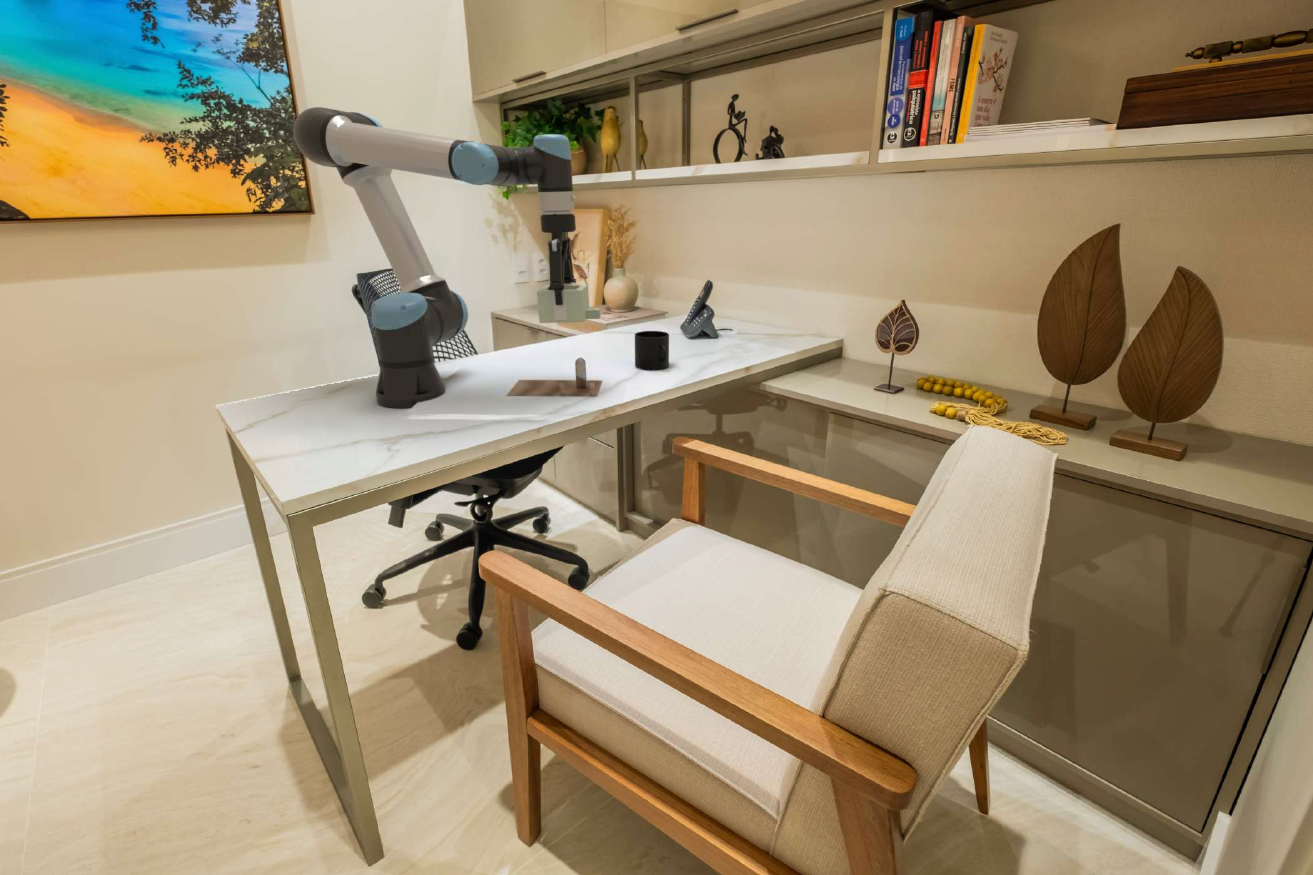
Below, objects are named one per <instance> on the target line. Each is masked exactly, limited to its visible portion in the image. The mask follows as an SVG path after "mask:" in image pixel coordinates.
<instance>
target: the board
mask: <svg viewBox="0 0 1313 875" xmlns="http://www.w3.org/2000/svg"><path fill="white" fill-rule="evenodd" d="M586 383H587V388H585V389H578V388H576V379H518V380H517V382H516V383H515V384H514V385H513V387H512V388H511V389H510V391H509V392H508V393H507V394H506V395H505V396H507V397H570V398H572V397H576V398H578V397H579V398H581V397H582V398H583V397H584V398H585V397H587V398H588V397H589V398H590V397H591V398H595V397H596V398H597V397H598V394H599V392H600V388H601V386H602V383H603V379H602V380H600V379H599V380H597V379H596V380H594V379H590V380H588V379H586Z"/></svg>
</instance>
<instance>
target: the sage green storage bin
mask: <svg viewBox="0 0 1313 875" xmlns="http://www.w3.org/2000/svg"><path fill="white" fill-rule="evenodd" d="M548 286H550V284H547V285H544V286H542V287H541V288H539V289H538V290H537V291H536V297H537V298H536V299H537V308H538V318H539V324H550V323H552V324H553V323H554V324H556V323H558V324H559V323H564V324H565V323H566V324H567V323H584V322H586V320H600V318H601V309H600V307H599V308H597V307H596V308H590V297H589V293H590V292H589V284H573V285H564V290H565V292H566V305H567V320H555V315H554V302H553V290H549V288H548Z"/></svg>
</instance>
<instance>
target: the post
mask: <svg viewBox="0 0 1313 875" xmlns="http://www.w3.org/2000/svg"><path fill="white" fill-rule="evenodd" d="M574 365H575V366H574V369H575V371H574V372H575V380H576V388H578V389H585V388H587V383H586V380H587V362H586V360H585V358H583V357H578V358H576V359H575V362H574Z"/></svg>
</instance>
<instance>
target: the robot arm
mask: <svg viewBox="0 0 1313 875" xmlns="http://www.w3.org/2000/svg"><path fill="white" fill-rule="evenodd" d="M292 134H293V138H294V141H295V142H294V143H295V145H296V146H297V148H298V150H299V151H300V152H301V153H302V155H303V156H304V157H305V158H306V159H308V160H309V161H311V162H313V163H315V164H316V165H319V166H323V167H328V168H329V167H330V168H336V170H337V172H338V174H339V176H340V179H341V180H342V182H343V184H345V185H347V186H349V187H351V188H352V189H354V191H355V192H354V193H356V196H357V197H358V200H359V202H360V204H361V206H362V208H363V210H364V212H365V214H366V217H367V218H368V221H369V223H370V225H371V226H372V229H373V231H374V233H375V236H376V237H377V239H378V242H379V244H380V246H381V247H382V250H383V252H384V254H385V255H386V258H387V260H388V262H389V265H390V267H391V268H392V270H393V273H394V275H395V277H396V279H397V281H398V283H399V285H400V288H401V289H400V292H399V293H395V294H389V295H386V296H383V297H380V298H378V299H376V300H374V302H373V303H372V305H371V324H372V325H373V333H374V337H375V338H374V339H375V345H376V349H377V355H378V362H379V367H380V368H379V374H378V380H377V386H376V389H375V390H376V391H375V392H376V393H375V395H376V401H377V404H379V405H380V406H383V407H387V408H398V409H399V408H400V409H402V408H405V409H406V408H413V407H414V406H416V405H417V404H418V403H423V402H427V401H430V400H434V399H437V398H439V397H442V396H443V395H444V394H445V393H446V386H445V383H444V381H443V379H442V377H441V375H440V373H439V371H438V369H437V366H436V365H435V360H434V354H433V353H434V352H433V351H434V350H433V346H434V345H437V344H440V343H443V342H447V341H449V340H452V339H454V338H455V337H457V336H458V335H459V334H461V333H463V331H464V329H465V328H466V326H467V322H468V319H469V311H468V305H467V304H466V302H465V299H463V297H462V296H461V295H460V294H459V293H456V292H455V291H454V290H451V289H450V287H449V284H448V282H447V280H446V279H445V278H443V277H441V276H438V275H437V274H436V272H435V269H434V268H433V265H432V264H431V261H430V259H429V257H428V255H427V253H426V250H425V248H424V246H423V244H422V242H421V240H420V237H419V235H418V234H417V231H416V229H415V227H414V225H413V222H412V221H411V218H410V215H409V214H408V212H407V210H406V207H405V204H404V203H403V200H402V199H401V197H400V194H399V191H398V190H397V188H396V185H395V183H394V181H393V180H392V177H391V175H392V172H393V170H397V171H402V172H409V173H414V174H419V175H427V176H433V177H437V178H443V179H451V180H455V181H461V182H464V183H467V184H470V185H475V186H484V185H489V186H497V187H508V186H524V185H525V186H526V185H532V186H533V185H537V192H538V193H537V194H538V207H539V212H540V213H542V214H541V215H540V218H539V219H540V227H541V232H542V233H546V234H547V233H549V234H551V240H548V242H547V245H548V252H549V253H548V255H549V285H550V286H548V288H549V290H553V302H554V315H555V320H567V305H566V292H565V290H564V285H574V284H577V278H575V275H574V267H573V258H572V250H571V238H570V236H567V235H568V234H567V233H572V232H575V231H576V228H577V227H576V224H577V223H576V216H575V214H574V213H573V212H574V211H575V202H576V201H577V197H576V196H574V187H573V169H572V165H573V164H572V160H573V159H572V154H571V145H570V140H569V138H568V137H567V136H566V135H564V134H556V133H555V134H554V133H553V134H552V133H551V134H550V133H549V134H546V133H545V134H538V135H535V136H534V138H533V145H531V146H524V147H523V146H518V147H514V146H513V147H507V146H501V145H494V144H487V143H482V142H479V141H472V140H471V141H470V140H463V139H456V138H451V137H443V136H438V135H432V134H426V133H420V132H412V131H408V130H403V129H402V130H401V129H393V128H389V127H384V125H382V124H381V123H380V122H379V121H377V120H376V119H374V118H373V117H370V116H368V115H365V114H364V113H359V112H354V111H345V110H343V111H342V110H337V109H332V108H327V107H321V106H316V107H315V106H314V107H310V108H307V109H304V110H303V111H302V112H301V113H299V114H298V116H297V117H296V119H295V120H294V124H293V133H292Z"/></svg>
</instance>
